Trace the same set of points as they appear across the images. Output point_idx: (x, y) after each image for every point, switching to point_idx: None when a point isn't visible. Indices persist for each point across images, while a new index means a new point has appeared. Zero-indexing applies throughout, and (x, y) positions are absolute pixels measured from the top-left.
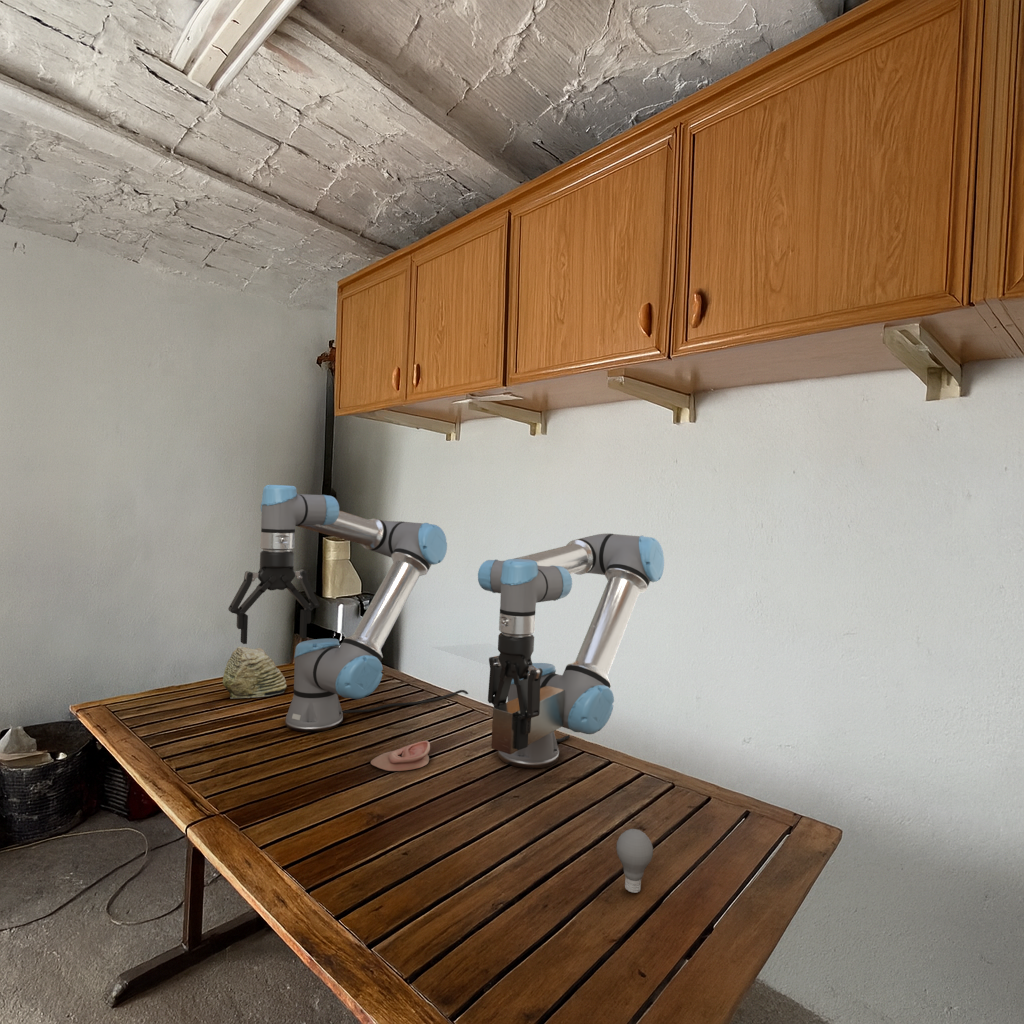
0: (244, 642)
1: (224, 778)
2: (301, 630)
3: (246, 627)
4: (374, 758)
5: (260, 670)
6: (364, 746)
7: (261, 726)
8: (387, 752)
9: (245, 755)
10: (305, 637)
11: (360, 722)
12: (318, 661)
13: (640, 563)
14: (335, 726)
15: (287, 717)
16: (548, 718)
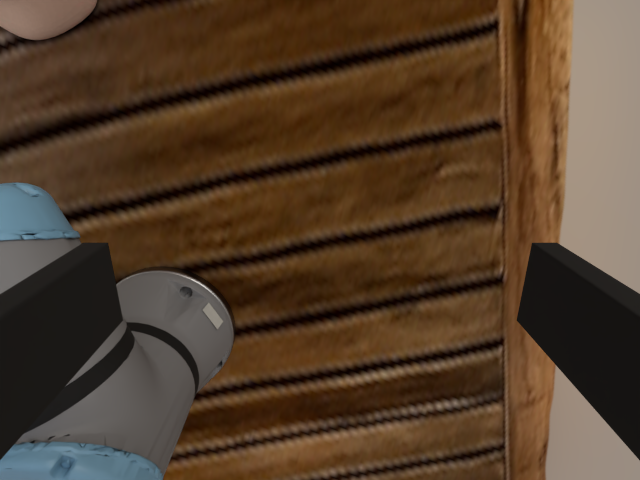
0: (555, 247)
1: (431, 111)
2: (86, 311)
3: (632, 305)
4: (80, 5)
5: None
6: (88, 128)
7: (283, 354)
8: (36, 8)
9: (356, 215)
10: (85, 244)
11: None
12: (86, 378)
13: None
14: (130, 274)
15: (229, 340)
16: None
